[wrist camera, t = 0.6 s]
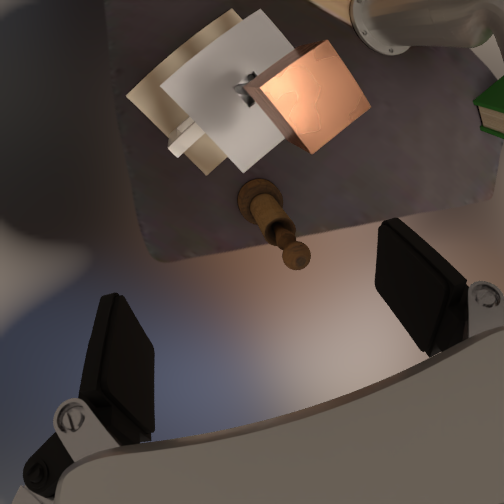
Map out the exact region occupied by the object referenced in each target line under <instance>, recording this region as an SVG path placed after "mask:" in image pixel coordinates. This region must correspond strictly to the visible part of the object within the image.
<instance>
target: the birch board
mask: <svg viewBox="0 0 504 504" xmlns="http://www.w3.org/2000/svg"><path fill="white" fill-rule="evenodd" d="M241 21H243V20H242V19H241V18H240V17H239V16H238V14H237V13H236V12H235V11H234V10H233V9H230V10H229V11H227V12H226V13H225V14H223V15H222V16H220V17H219V18H217V19H216V20H214V21H213V22H212V23H210V24H209V25H208V26H206V27H205V28H203V29H202V30H201V31H199V32H198V33H197V34H196V35H194V36H193V37H192V38H190V39H189V40H188V41H187V42H185V43H184V44H183V45H182V46H180V47H179V48H178V49H177V50H175V51H174V52H173V53H172V54H171V55H169V56H168V57H167V58H166V59H165V60H164V61H163V62H161V63H160V64H159V65H158V66H157V67H156V68H155V69H154V70H152V71H151V72H150V73H149V74H148V75H147V76H146V77H145V78H144V79H143V80H142V81H141V82H140V83H138V84H137V85H136V86H135V87H134V88H133V89H132V90H131V91H130V92H129V93H128V94H127V95H126V97H127V98H128V99H129V100H130V101H131V102H133V103H134V104H135V105H136V106H137V107H138V108H139V109H140V110H141V111H142V112H143V113H144V114H145V115H146V116H147V117H148V118H149V119H150V120H151V121H152V122H153V123H154V124H155V125H156V126H157V127H158V128H159V129H160V130H161V131H162V132H163V133H164V134H165V135H166V136H167V137H168V138H169V136H170V133H171V132H172V131H173V130H174V129H175V128H177V127H178V126H179V125H180V124H181V123H182V122H183V121H184V120H185V119H186V118H187V117H189V115H188V114H187V113H186V112H185V111H184V110H183V109H182V108H181V107H180V106H179V105H178V104H177V103H176V102H175V101H174V100H173V99H172V98H171V97H170V96H169V95H168V94H167V93H166V92H165V91H164V90H163V89H162V88H161V87H160V85H161V84H162V83H164V82H165V81H166V80H167V79H168V78H169V77H170V76H171V75H173V74H174V73H175V72H176V71H177V70H178V69H179V68H181V67H182V66H183V65H184V64H185V63H187V62H188V61H189V60H190V59H191V58H193V57H194V56H195V55H196V54H198V53H199V52H200V51H201V50H203V49H204V48H205V47H207V46H208V45H209V44H210V43H212V42H213V41H214V40H216V39H217V38H218V37H220V36H221V35H223V34H224V33H225V32H227V31H228V30H230V29H231V28H232V27H234V26H235V25H237V24H238V23H240V22H241ZM184 154H185V155H186V156H187V157H188V158H189V159H190V160H191V161H192V162H193V163H194V164H195V165H196V166H197V167H198V168H199V169H200V170H201V171H202V172H203V173H204V174H205V175H206V176H207V175H208V174H209V173H210V172H211V171H212V170H213V169H214V168H215V167H217V166H218V165H219V164H220V163H221V162H222V161H223V160H224V159H226V158H227V157H228V156H227V155H226V154H225V153H224V152H223V151H222V150H221V149H220V148H219V147H218V146H217V144H216V143H215V142H214V141H213V140H212V139H211V138H210V137H209V136H208V135H207V134H206V133H204V134H203V135H202V136H201V137H200V138H199V139H198V140H197V141H196V142H194V143H193V144H192V145H191V146H190V147H189V148H188V149H187V150H186V151H185V152H184Z"/></svg>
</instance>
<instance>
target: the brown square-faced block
mask: <svg viewBox="0 0 504 504" xmlns="http://www.w3.org/2000/svg"><path fill="white" fill-rule="evenodd" d="M232 88H233V89H234V91H235V92H236V93H237V94H238V95H239V96H240V97H241V99H242V100H243V101H244V102H245V103H246V104H247V105H248V107H249V106H250V105H251V104H252V103H254V102H256V103H257V104H258V105H259V106H260V108H261V109H262V110H263V111H264V112H265V114H266V115H267V116H268V117H269V118H270V120H271V121H272V122H273V123H274V125H275V126H276V127H277V128H278V130H279V131H280V132H281V133H282V135H283V136H284V137H285V138H286V140H287V141H289V142H291V143H292V144H294V145H296V146H298V147H300V148H301V149H303V150H305V151H307V152H308V153H310V154H313V153H315V152H316V151H317V150H318V149H319V148H321V147H322V146H323V145H324V144H326V143H327V142H328V141H329V140H331V139H332V138H333V137H334V136H335V135H337V134H338V133H339V132H340V131H342V130H343V129H344V128H345V127H347V126H348V125H349V124H350V123H352V122H353V121H354V120H355V119H357V118H358V117H359V116H361V115H362V114H363V113H364V112H366V111H367V110H368V109H369V108H371V106H370V104H369V102H368V101H367V99H366V97H365V96H364V94H363V92H362V91H361V89H360V87H359V86H358V84H357V83H356V81H355V79H354V78H353V76H352V75H351V73H350V72H349V70H348V69H347V67H346V66H345V64H344V63H343V61H342V60H341V58H340V57H339V55H338V54H337V52H336V51H335V50H334V48H333V47H332V45H331V44H330V43H329V41H328V40H323V41H319V42H314V43H310V44H306V45H302V46H298V47H297V48H296V49H294V50H293V51H291V52H290V53H288V54H287V55H285V56H284V57H283V58H281V59H280V60H278V61H277V62H276V63H274V64H273V65H271V66H270V67H269V68H267V69H266V70H265V71H263V72H262V73H261V74H259V75H258V76H257V77H256V76H255V75H254V74H253V73H250V74H249V75H248V76H246V77H245V78H244V79H242V80H241V81H240V82H239V83H237V84H236V85H235V86H234V87H232Z"/></svg>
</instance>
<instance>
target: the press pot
mask: <svg viewBox="0 0 504 504" xmlns="http://www.w3.org/2000/svg"><path fill="white" fill-rule="evenodd" d="M293 50H294V48H293V46H292V45H291V44H290V43H289V41H288V40H287V39H286V38H285V37H284V35H283V34H282V33H281V32H280V31H279V29H278V28H277V27H276V26H275V25H274V24H273V22H272V21H271V20H270V19H269V18H268V17H267V16H266V14H265V13H264V12H263V11H262V10H261V9H259V10H258V11H256V12H255V13H253V14H252V15H250V16H249V17H247V18H246V19H244V20H243V21H241V22H240V23H238V24H237V25H235V26H234V27H232V28H231V29H230V30H228V31H227V32H225V33H224V34H223V35H221V36H220V37H218V38H217V39H216V40H214V41H213V42H212V43H210V44H209V45H208V46H207V47H205V48H204V49H203V50H201V51H200V52H199V53H198V54H196V55H195V56H194V57H193V58H191V59H190V60H189V61H188V62H187V63H185V64H184V65H183V66H182V67H181V68H179V69H178V70H177V71H176V72H175V73H174V74H173V75H171V76H170V77H169V78H168V79H167V80H166V81H165V82H164V83H162V84H161V85H160V87H161V88H162V89H163V90H164V91H165V92H166V93H167V94H168V95H169V96H170V97H171V98H172V99H173V100H174V101H175V102H176V103H177V104H178V105H179V106H180V107H181V108H182V109H183V110H184V111H185V112H186V113H187V114H188V115H189V117H187V118H186V119H185V120H184V121H183V122H182V123H181V124H180V125H179V126H178V127H177V128H175V129H174V130H173V131H172V132H171V133H170V136H169V142H168V149H169V150H170V151H171V152H172V153H173V154H174V155H175V156H176V157H177V158H178V157H179V156H180V155H182V154H183V153H184V152H185V151H186V150H187V149H188V148H189V147H190V146H191V145H192V144H193V143H194V142H196V141H197V140H198V139H199V138H200V137H201V136H202V135H203V134H204V133H206V134H207V135H208V136H209V137H210V138H211V139H212V140H213V141H214V142H215V143H216V144H217V146H218V147H219V148H220V149H221V150H222V151H223V152H224V153H225V154H226V155H227V156H228V157H229V158H230V159H231V161H232V162H233V163H234V164H235V165H236V166H237V167H238V168H239V169H240V170H241V171H242V173H244V172H245V171H247V170H248V169H249V168H250V167H251V166H252V165H254V164H255V163H256V162H257V161H258V160H259V159H261V158H262V157H263V156H264V155H265V154H267V153H268V152H269V151H270V150H271V149H273V148H274V147H275V146H276V145H277V144H279V143H280V142H281V141H282V140H283V139H285V137H284V136H283V135H282V133H281V132H280V131H279V130H278V128H277V127H276V126H275V125H274V123H273V122H272V121H271V120H270V118H269V117H268V116H267V115H266V114H265V112H264V111H263V110H262V109H261V108H260V106H259V105H258V104H257V103H256V102H254V103H252V104H251V105H250V106H249V107H248V105H247V104H246V103H245V102H244V101H243V100H242V99H241V97H240V96H239V95H238V94H237V93H236V92H235V91H234V89H233V88H232V87H234V86H235V85H236V84H237V83H239V82H240V81H241V80H242V79H244V78H245V77H246V76H248V75H249V74H250V73H253V74H254V75H255V76H256V77H257V76H258V75H259V74H261V73H262V72H263V71H265V70H266V69H267V68H269V67H270V66H271V65H273V64H274V63H276V62H277V61H278V60H280V59H281V58H283V57H284V56H285V55H287V54H288V53H290V52H291V51H293Z"/></svg>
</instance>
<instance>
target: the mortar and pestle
mask: <svg viewBox="0 0 504 504" xmlns="http://www.w3.org/2000/svg"><path fill="white" fill-rule="evenodd" d="M238 206H239V209H240V211H241V213H242V215H243V217H244V218H245V219H246V220H247V221H249V222H250V223H253V224H256V225H258V226H259V228H260V230H261V232H262V234H263V236H264V238H265V239H266V241H267V242H268V243H269V244H271V245H274V246H278V247H279V248H280V249H282V250H283V254H282V258H283V261H284V263H285V265H286V266H287V267H288V268H290V269H293V270H301V269H303V268H305V267H306V266H307V265H308V264H309V262H310V258H311V253H310V250H309V248H308V247H307V246H306V245H305V244H304V243H302V242H298V241H296V237H295V232H296V228H295V225H294V223H293V222H292V220H291V219H290V218H289V217H288V215H287V214H286V213H285V212H284V210H283V209H282V207H283V198H282V195H281V193H280V191H279V190H278V189H277V187H276V186H275V185H274V184H273V183H271V182H270V181H268V180H265V179H255V180H251V181H249V182H248V183H246V184H245V185H244V186H243V187H242V188H241V190H240V192H239V195H238Z"/></svg>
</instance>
